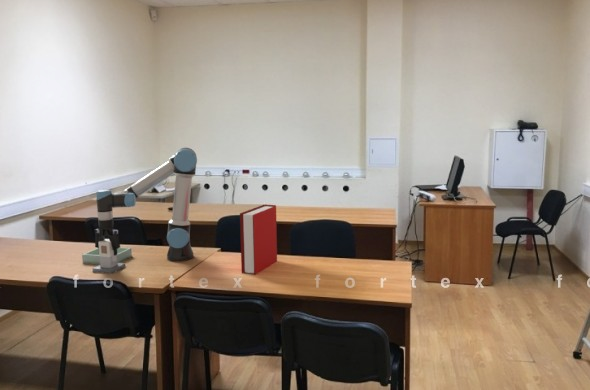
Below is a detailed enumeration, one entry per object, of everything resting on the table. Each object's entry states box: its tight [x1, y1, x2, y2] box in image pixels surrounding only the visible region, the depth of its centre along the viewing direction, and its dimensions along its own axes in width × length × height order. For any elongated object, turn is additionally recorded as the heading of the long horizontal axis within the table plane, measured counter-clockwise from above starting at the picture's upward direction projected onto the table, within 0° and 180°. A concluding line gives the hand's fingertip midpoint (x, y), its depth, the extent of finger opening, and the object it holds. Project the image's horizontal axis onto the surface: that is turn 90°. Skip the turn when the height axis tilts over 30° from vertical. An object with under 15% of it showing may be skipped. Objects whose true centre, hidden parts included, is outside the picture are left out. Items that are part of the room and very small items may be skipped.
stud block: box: [92, 262, 126, 274], centre depth 270 cm, size 12×12×7 cm
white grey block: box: [98, 238, 118, 268], centre depth 268 cm, size 6×7×14 cm
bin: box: [81, 246, 133, 265], centre depth 288 cm, size 20×18×5 cm
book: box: [239, 204, 278, 276], centre depth 269 cm, size 27×8×32 cm, turn 156°
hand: (108, 260), depth 269 cm, fingers closed on white grey block, 6 cm apart
